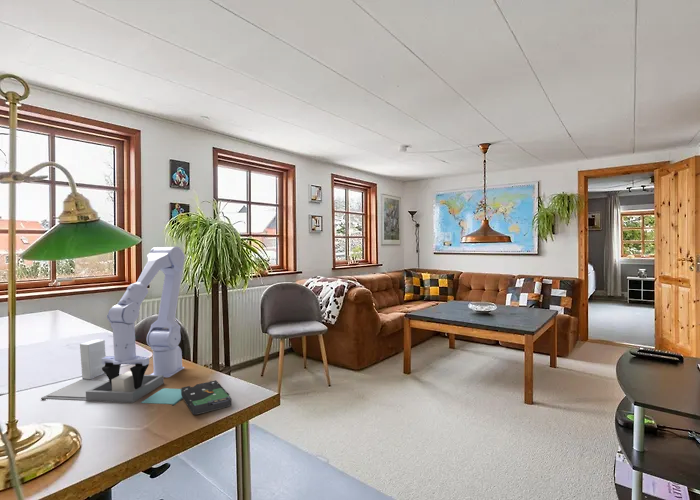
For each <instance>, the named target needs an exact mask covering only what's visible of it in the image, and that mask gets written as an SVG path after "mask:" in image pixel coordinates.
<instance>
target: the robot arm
mask: <svg viewBox="0 0 700 500" xmlns="http://www.w3.org/2000/svg"><path fill="white" fill-rule="evenodd" d="M146 260H147V262H146V263H145V265H144V268H143V269H142V271H141V273H140V275H139V277H138V279H137V281H136V282H133V283H130V284H129V285H128V286H127V287H126V289H125V290H126V291H125V292H124V293H123V295H122V297H120V299H119V300H118V302H117V304H115V305H113V306H111V307H110V309H109V310H108V313H107V314H106V318H107V319H106V320H107V321H108V322H109V323H110V328H111V329H112V338H113V339H112V342H113V355H112V356H111V355H109V356H107V355H106V357H104V358H102V364H103V365H105V366H104V367H102V370H103V371H104V374H105V375H106V377H107V379H108V380H109V381H110V384H111V387H112V379H113V378H115V377H117V376H119V375H120V369H121V365H133V366H132V367H129V371H131V372H132V375H133V380H134V388H135V389H138V388H139V387H141V385H142V381H143V377H144V375H146V374H145V373H146V371H147V369H148V368H149V366H150V358H149V356H148V357H147V356H140V355H137V350H136V349H137V348H136V329H135V322H136V321H137V320H138V318H139V317H140V316H139V315H140V309H141V304H143V301H144V300H145V298H146V297H147V295H148V294H149V289H148V287H149V285H150V284H151V282H152V281H153V279H154V278H155V277H156V276H157V274H158V273H159V271H161V272H162V273H163V274H164V279H163V286H162V289H161V290H162V291H161V297H160V303H159V310H158V314H157V315H158V317H157V319H156V320H155V321H154V322H153V323H151V324H150V328H149V330H148V333H147V335H146V345H148V346H149V347H150V350H152V364H153V372H152V373H150V374H149V375H163V377H164V378H171V377H172V376H174V375H175V374H177V373H179V372H180V371H182V370H184V369H185V368H186V367H185V366H183V356H182V355H183V353H182V352H183V351H182V349H181V347H180V346H179V344H180V343H181V338H182V336H181V329H182V327H181V325H180V324H179V323H177V321H176V320H175V319H176V315H177V313H176V312H177V307H178V303H179V302H178V301H179V295H180V288H181V283H182V277H183V267H184V262H185V253H184V252H183V250H182V248H180V247H179V246H163V247H162V246H161V247H160V246H154V247H152V248H151V249H150V251H149V252H148V254H147V255H146Z"/></svg>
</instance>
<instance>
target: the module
mask: <svg viewBox="0 0 700 500" xmlns="http://www.w3.org/2000/svg"><path fill="white" fill-rule="evenodd" d="M120 374H121V375H120ZM120 374H119V376H117V377H115V378H113V379H112V391H121V392H133V391H134V390H136V389H135V388H134V380H133V375H132V372H131V370H128V371H125V372H124V373H120Z"/></svg>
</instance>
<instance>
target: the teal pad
mask: <svg viewBox="0 0 700 500" xmlns="http://www.w3.org/2000/svg"><path fill="white" fill-rule="evenodd" d="M181 400H184V399H183V397H182V395H181V388H168V387H167V388H166V387H164V388H162V389H160V390H158V391H157V392H155V393H153V394H152V395H150V396H149V397H147V398H145V399H144V400H142V401H141V402H140V404H157V405H159V404H160V405H171V406H176V404H178V403H179V402H180V401H181Z"/></svg>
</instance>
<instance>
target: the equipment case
mask: <svg viewBox="0 0 700 500" xmlns="http://www.w3.org/2000/svg"><path fill="white" fill-rule="evenodd" d="M121 374H122V373H119V375H121ZM164 378H165V377H163V375H150V374H144V377H143V381H142V385H141V387H139V388H138V389H136V390H134V391H133V392H121V391H112V387H111V384H110V381H109V379H108V380H98V379H97V380H96V379H95V380H94V379H80V380H77V381H75V382H73V383H70V384H68V385H66V386H63V387H62V388H59V389H57V390H55V391H52V392H51V393H48V394H47V395H44V396H42V397H40V400H41V399H47V400H63V401H64V400H65V401H66V400H67V401H86V402H87V401H89V402H106V403H107V402H112V403H129V404H130V403H135V402H137V401H138V400H140V399H141V398H143V397H144V396H146V395H148V394H149V393H151V392H152V391H154V390H156V389H157V388H159V387H161V386H162V385H163V384H164V383H165V381H164V380H165V379H164Z"/></svg>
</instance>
